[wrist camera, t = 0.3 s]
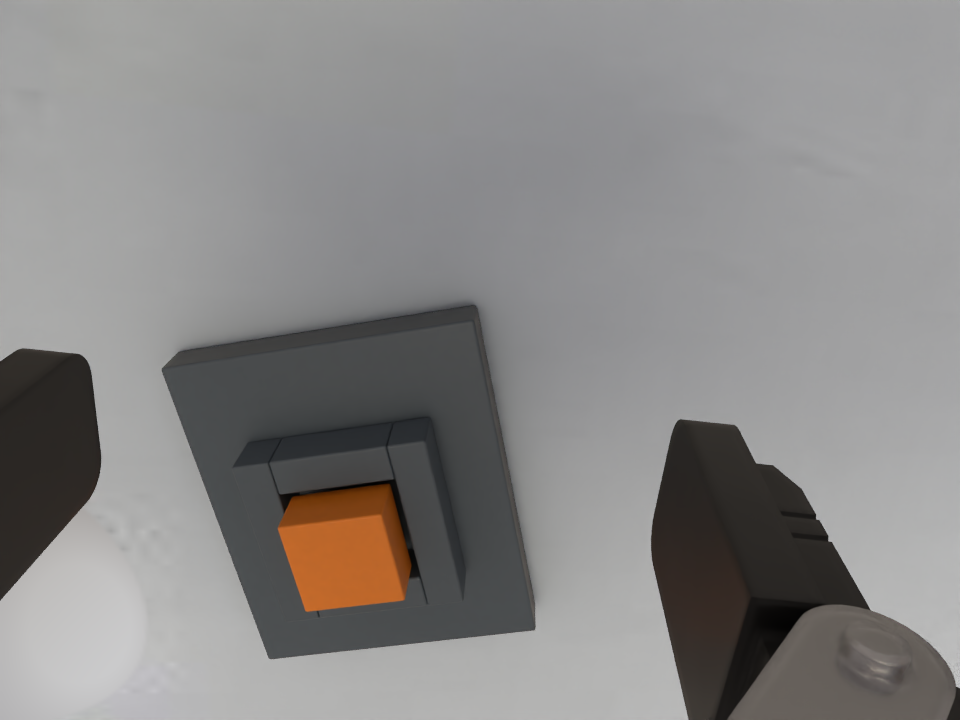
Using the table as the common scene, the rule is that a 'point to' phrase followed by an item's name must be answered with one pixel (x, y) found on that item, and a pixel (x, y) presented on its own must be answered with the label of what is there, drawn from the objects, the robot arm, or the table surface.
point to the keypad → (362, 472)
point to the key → (346, 547)
